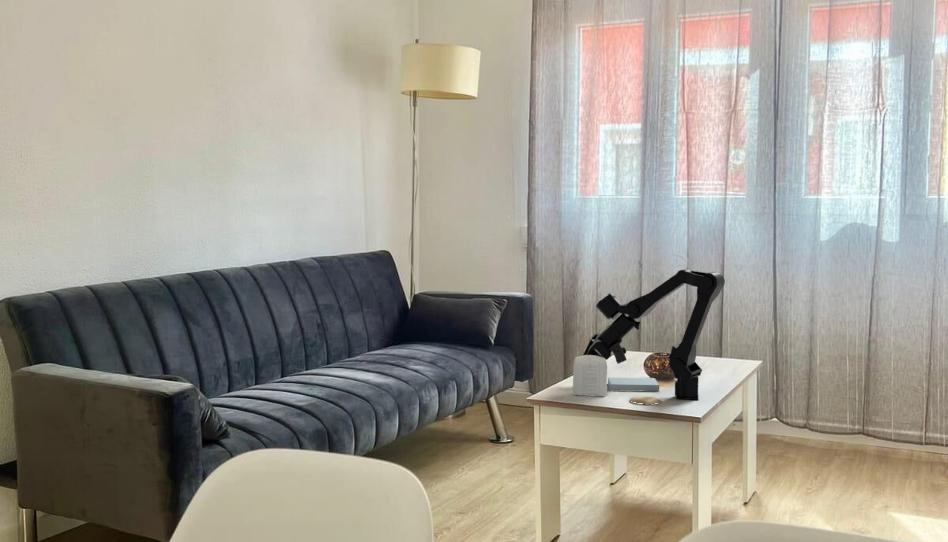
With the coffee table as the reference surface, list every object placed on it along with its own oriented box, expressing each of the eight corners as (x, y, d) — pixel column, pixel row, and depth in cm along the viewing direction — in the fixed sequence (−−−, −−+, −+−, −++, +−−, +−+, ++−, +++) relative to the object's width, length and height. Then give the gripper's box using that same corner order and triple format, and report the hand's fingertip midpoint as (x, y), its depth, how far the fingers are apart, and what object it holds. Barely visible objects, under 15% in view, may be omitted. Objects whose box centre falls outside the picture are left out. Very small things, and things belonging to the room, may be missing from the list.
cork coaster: (661, 399, 276) (661, 397, 276) (660, 405, 267) (660, 403, 267) (631, 397, 278) (631, 395, 278) (628, 404, 269) (628, 402, 269)
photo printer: (607, 394, 283) (607, 354, 282) (606, 397, 278) (607, 357, 277) (573, 393, 284) (573, 353, 284) (572, 396, 280) (572, 355, 279)
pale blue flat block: (654, 384, 298) (654, 378, 298) (659, 391, 287) (659, 385, 287) (607, 383, 299) (608, 377, 299) (610, 390, 288) (610, 384, 288)
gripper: (637, 353, 280) (600, 388, 282) (633, 343, 298) (598, 376, 300) (612, 327, 280) (575, 362, 282) (609, 319, 298) (574, 352, 300)
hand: (581, 364), depth 291 cm, fingers open, 9 cm apart
